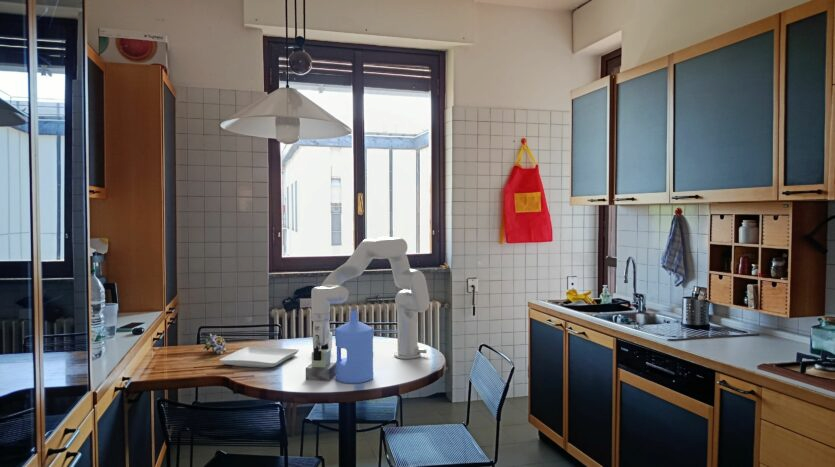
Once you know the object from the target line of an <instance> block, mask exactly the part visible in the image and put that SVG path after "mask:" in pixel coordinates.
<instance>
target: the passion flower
mask: <svg viewBox="0 0 835 467" xmlns="http://www.w3.org/2000/svg"><path fill="white" fill-rule="evenodd" d="M203 343H204V345H205V346H204V347H203V349H202V350H205V349H206V350H205V351H206V353H205V354H207V353H208V351H209V350H210V349H211V351H212V352H215V354H217V355H223V351H226V349H227V348H226V340H225V339H224V336H223V335H221V336H220V335H219V336H218V335H217V334H214V335H213V334H212V333H209V339H207V338H206V339H205V340H204V341H203Z"/></svg>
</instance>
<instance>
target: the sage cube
mask: <svg viewBox="0 0 835 467" xmlns="http://www.w3.org/2000/svg"><path fill="white" fill-rule="evenodd" d="M320 351H321V361H314V360H313V351H312V352H311V363H312V367H327V366H328V365H329V364H330V362H331V354H330V350H328V349H321V350H320Z"/></svg>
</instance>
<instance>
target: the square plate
mask: <svg viewBox="0 0 835 467" xmlns="http://www.w3.org/2000/svg"><path fill="white" fill-rule="evenodd" d="M298 352H300V350H299V348H298V349H297V348H295V349H294V348H284V347H283V348H282V347H274V346H273V347H270V346H246V347H244V348H241V349H239V350H236V351H234V352H232V353H230V354H228V355H226V356H224V357H222V358H220V359H219V361H220V362H221V363H222V364H225V365H228V366H229V365H230V366H233V367H234V366H235V367H246V366H247V367H248V368H251V367H252V368H265V369H266V368H273V367H276V366H278V365H279V364H281V363H282V362H284V361H286V360H288V359H290V358H292V357H294V356H295V355H296V354H297V353H298Z"/></svg>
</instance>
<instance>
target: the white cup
mask: <svg viewBox="0 0 835 467" xmlns="http://www.w3.org/2000/svg"><path fill="white" fill-rule="evenodd" d="M318 347H319V346H318ZM332 347H333V331H330V341H329V342H328V350H330V355H331V354H332Z"/></svg>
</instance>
